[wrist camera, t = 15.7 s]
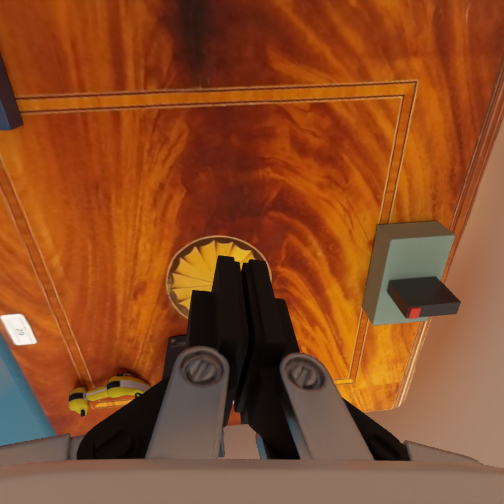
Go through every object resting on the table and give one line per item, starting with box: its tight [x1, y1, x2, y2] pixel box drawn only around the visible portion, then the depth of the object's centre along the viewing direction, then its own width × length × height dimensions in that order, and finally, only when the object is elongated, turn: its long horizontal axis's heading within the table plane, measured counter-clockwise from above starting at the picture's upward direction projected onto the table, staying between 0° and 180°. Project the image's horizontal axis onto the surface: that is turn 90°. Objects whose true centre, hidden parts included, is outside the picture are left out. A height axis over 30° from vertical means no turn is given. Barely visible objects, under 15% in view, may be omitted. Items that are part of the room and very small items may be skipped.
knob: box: [387, 277, 461, 319], centre depth 37 cm, size 6×2×5 cm, turn 91°
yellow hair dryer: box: [68, 372, 151, 416], centre depth 46 cm, size 10×6×4 cm, turn 108°
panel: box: [362, 221, 455, 326], centre depth 40 cm, size 12×7×4 cm, turn 1°
